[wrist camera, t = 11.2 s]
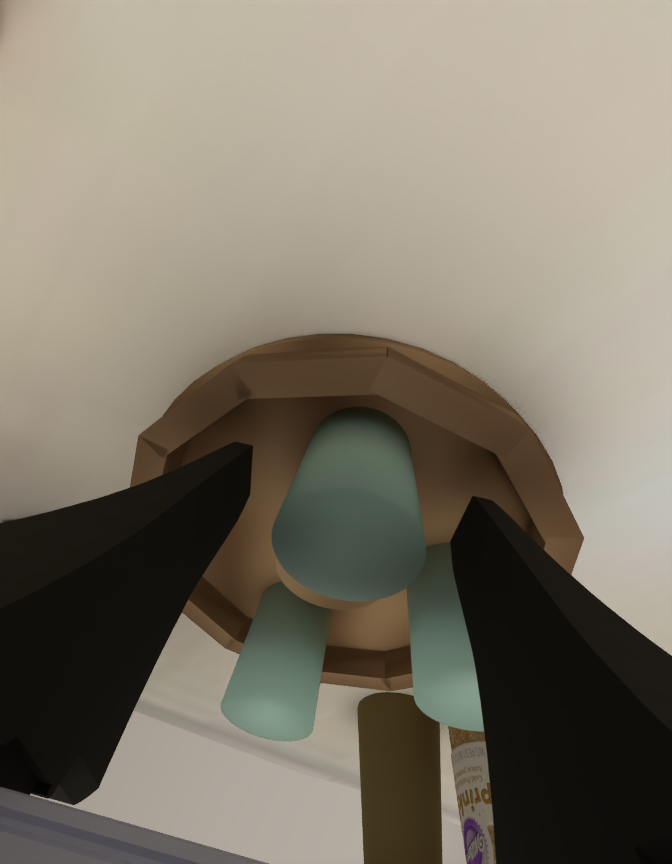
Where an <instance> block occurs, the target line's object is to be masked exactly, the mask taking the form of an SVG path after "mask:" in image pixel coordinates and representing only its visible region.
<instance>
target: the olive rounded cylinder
mask: <svg viewBox="0 0 672 864" xmlns="http://www.w3.org/2000/svg"><path fill="white" fill-rule="evenodd" d="M358 731H359V755H360V779H361V803H362V826H363V850H364V864H442V824H441V770H440V722H438V721H435V720H434V719H432V718H430V717H429V716H427V715H426V714H424V713H423V712H422V711H421V710H420V709H419V707H418V706H417V704H416V703H415V700H414V697H413V696H409V695H404V694H400V693H379V694H373V695H370V696H368V697H365V698H364V699H363V700H362V701H360V702H359V705H358Z"/></svg>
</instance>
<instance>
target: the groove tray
mask: <svg viewBox="0 0 672 864" xmlns="http://www.w3.org/2000/svg"><path fill="white" fill-rule="evenodd" d="M349 407H368V408H373V409H376V410H379V411H382V412H384V413H386V414H388V415H389V416H391V417H392V418H393V419H395V420H396V421H397V422H398V423H399V424H400V425H401V427H402V428H403V429H404V431H405V432H406V434H407V436H408V439H409V442H410V447H411V453H412V460H413V466H414V472H415V479H416V485H417V492H418V498H419V504H420V511H421V517H422V524H423V530H424V536H425V543H426V547H428V546H431V545H435V544H441V543H450V541H451V539H452V537H453V535H454V532H455V530H456V528H457V526H458V524H459V522H460V520H461V518H462V516H463V514H464V512H465V510H466V508H467V506H468V504H469V502H470V500H471V498H472V496H477V497H481V498H485V499H490V500H492V501H494V502H495V503H496V504H497V505H498V506H499V507H501V508H502V509H503V510H504V511H505V512H506V513H507V514H508V515H509V516H510V517H511V518H512V519H513V520H514V521H515V522H516V523H517V524H518V525H519V526H520V527H521V528H522V529H523V530H524V531H525V532H526V533H527V534H528V535H529V536H530V537H531V538H532V539H533V540H534V541H535V542H536V543H537V544H538V545H539V546H541V547H542V548H543V549H544V550H545V551H546V552H547V553H548V554H549V555H550V556H551V557H552V558H553V559H554V560H555V561H556V562H557V563H558V564H559V565H561V566H562V567H563V568H564V569H565V570H566V571H567V572H568V573H569V574H570V575H571V574H572V571H573V568H574V565H575V562H576V560H577V557H578V554H579V551H580V548H581V546H582V543H583V540H584V537H583V535H582V533H581V531H580V529H579V526H578V524H577V522H576V520H575V518H574V516H573V514H572V512H571V510H570V508H569V506H568V504H567V502H566V500H565V498H564V496H563V491H562V486H561V483H560V480H559V478H558V475H557V472H556V470H555V467H554V464H553V462H552V460H551V458H550V456H549V455H548V453H547V451H546V450H545V448H544V446H543V445H542V443H541V441H540V440H539V438H538V436H537V435H536V434H535V433H534V431H533V430H532V429H531V428H530V427H529V426H528V424H527V423H526V422H525V421H524V420H523V419H522V417H521V416H520V415H519V414H518V413H517V412H516V411H515V409H514V408H513V407H512V406H511V405H510V404H509V403H508V402H507V401H506V400H504V399H503V398H502V397H501V396H500V395H499V394H497V393H496V392H495V391H494V390H493V389H491V388H490V387H489V386H488V385H487V384H485V383H484V382H483V381H482V380H480V379H479V378H477V377H476V376H474V375H472V374H471V373H469V372H468V371H466V370H464V369H463V368H461V367H459V366H458V365H456V364H455V363H453V362H451V361H448V360H446V359H444V358H441V357H439V356H437V355H435V354H432V353H430V352H428V351H425V350H423V349H421V348H417V347H413V346H410V345H406V344H403V343H399V342H396V341H392V340H389V339H383V338H376V337H368V336H361V335H354V334H316V335H309V336H302V337H294V338H287V339H283V340H279V341H276V342H273V343H269V344H266V345H262V346H259V347H255V348H253V349H251V350H249V351H247V352H245V353H242V354H240V355H238V356H236V357H234V358H231V359H229V360H227V361H226V362H224V363H222V364H220V365H218V366H217V367H215V368H214V369H212V370H211V371H209V372H208V373H206V374H205V375H203V376H202V377H200V378H199V379H197V380H196V381H194V382H193V383H192V384H191V385H190V386H189V387H188V388H187V389H186V390H185V391H184V392H182V393H181V394H180V395H179V396H178V397H177V398H176V399H175V400H174V402H173V403H172V404H171V406H170V407H169V408H168V410H167V411H166V413H165V414H164V415H163V417H161V418H160V419H159V420H158V421H156V422H155V423H154V424H152V425H151V426H150V427H149V428H147V429H146V430H145V431H144V432H142V433H141V434H140V435H139V436H138V442H137V448H136V454H135V460H134V466H133V472H132V479H131V485H130V488H131V487H133V486H136V485H139V484H141V483H144V482H147V481H149V480H151V479H154V478H156V477H159V476H161V475H163V474H166V473H168V472H170V471H173V470H175V469H177V468H180V467H182V466H184V465H186V464H188V463H190V462H193V461H195V460H197V459H199V458H201V457H203V456H205V455H207V454H209V453H211V452H213V451H216V450H218V449H220V448H222V447H224V446H226V445H228V444H230V443H233V442H235V441H236V442H240V443H244V444H249V445H253V457H252V474H251V491H250V496H249V498H248V500H247V503H246V505H245V507H244V509H243V511H242V513H241V515H240V517H239V519H238V521H237V523H236V524H235V526H234V527H233V529H232V531H231V532H230V534H229V535H228V537H227V538H226V540H225V542H224V543H223V545H222V546H221V548H220V549H219V551H218V552H217V554H216V555H215V557H214V559H213V560H212V562H211V563H210V565H209V566H208V568H207V569H206V571H205V572H204V574H203V575H202V577H201V579H200V580H199V582H198V583H197V585H196V587H195V589H194V590H193V592H192V594H191V595H190V597H189V599H188V601H187V603H186V605H185V607H184V609H183V611H182V613H183V614H185V615H186V616H187V617H188V618H189V619H191V620H192V621H193V622H194V623H195V624H197V625H198V626H199V627H200V628H201V629H203V630H204V631H205V632H206V633H207V634H209V635H210V636H211V637H212V638H213V639H215V640H216V641H217V642H218V643H219V644H221V645H222V646H223V647H224V648H226V649H228V650H231V651H233V652H235V653H238V654H240V653H241V650H242V647H243V645H244V642H245V640H246V637H247V634H248V632H249V629H250V626H251V624H252V621H253V619H254V616H255V613H256V611H257V608H258V606H259V603H260V600H261V598H262V595H263V593H264V591H265V590H266V589H267V588H268V587H270V586H271V585H273V584H276V583H281V582H283V583H284V584H285V586H286V587H287V588H288V589H289V590H290V591H291V592H293V593H294V594H295V595H297V596H298V597H300V598H301V599H303V600H305V601H307V602H309V603H311V604H314V605H317V606H320V607H324V608H329V609H331V617H330V623H329V630H328V636H327V642H326V649H325V655H324V661H323V668H322V674H321V681H320V683H327V684H335V685H344V686H352V687H360V688H369V689H377V690H386V691H395V690H400V689H406V688H411V687H413V676H412V662H411V647H410V633H409V619H408V605H407V590H406V588H405V589H404V590H402V591H400V592H398V593H396V594H394V595H392V596H389V597H386V598H382V599H379V600H372V601H345V600H339V599H334V598H330V597H327V596H324V595H321V594H319V593H316V592H314V591H312V590H310V589H308V588H306V587H305V586H303V585H301V584H300V583H299V582H297V581H296V580H295V579H293V578H292V577H291V576H290V575H289V574H288V573H287V572H286V571H285V569H284V568H283V567H282V566H281V564H280V563H279V561H278V559H277V557H276V555H275V553H274V550H273V546H272V528H273V524H274V522H275V519H276V517H277V515H278V513H279V510H280V508H281V506H282V504H283V501H284V499H285V497H286V495H287V492H288V490H289V488H290V486H291V483H292V481H293V479H294V477H295V475H296V472H297V470H298V468H299V466H300V463H301V461H302V459H303V457H304V454H305V452H306V450H307V448H308V446H309V443H310V441H311V439H312V437H313V434H314V432H315V430H316V429H317V427H318V426H319V424H320V423H321V422H322V421H323V420H324V419H325V418H326V417H328V416H329V415H330V414H332V413H334V412H336V411H339V410H341V409H345V408H349Z"/></svg>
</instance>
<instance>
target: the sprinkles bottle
mask: <svg viewBox="0 0 672 864" xmlns="http://www.w3.org/2000/svg"><path fill="white" fill-rule="evenodd" d="M448 729H449V735H450V743H451V749H452V754H451V759H452V766H453V773H454V780H455V787H456V794H457V801H458V808H459V815H460V822H461V829H462V834H463V839H464V848H465V855H466V862H467V864H496V853H495V839H494V825H493V811H492V801H491V791H490V780H489V770H488V760H487V750H486V742H485V734H484V732H481V731H469V730H463V729H458V728H454V727H451V726H448Z"/></svg>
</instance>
